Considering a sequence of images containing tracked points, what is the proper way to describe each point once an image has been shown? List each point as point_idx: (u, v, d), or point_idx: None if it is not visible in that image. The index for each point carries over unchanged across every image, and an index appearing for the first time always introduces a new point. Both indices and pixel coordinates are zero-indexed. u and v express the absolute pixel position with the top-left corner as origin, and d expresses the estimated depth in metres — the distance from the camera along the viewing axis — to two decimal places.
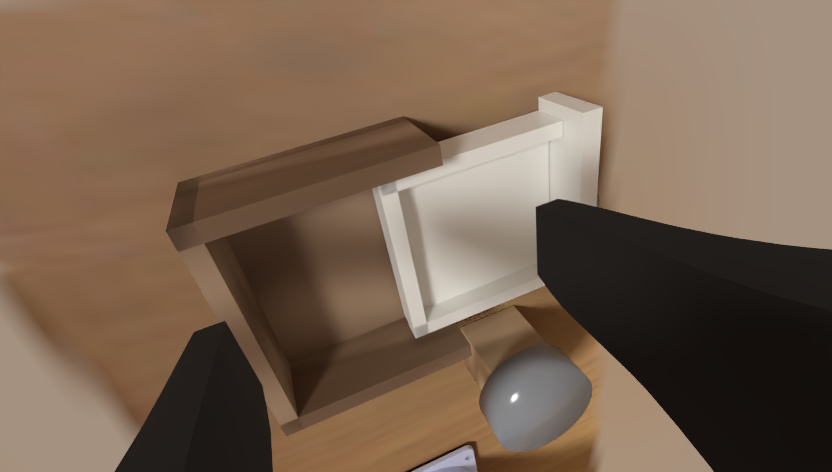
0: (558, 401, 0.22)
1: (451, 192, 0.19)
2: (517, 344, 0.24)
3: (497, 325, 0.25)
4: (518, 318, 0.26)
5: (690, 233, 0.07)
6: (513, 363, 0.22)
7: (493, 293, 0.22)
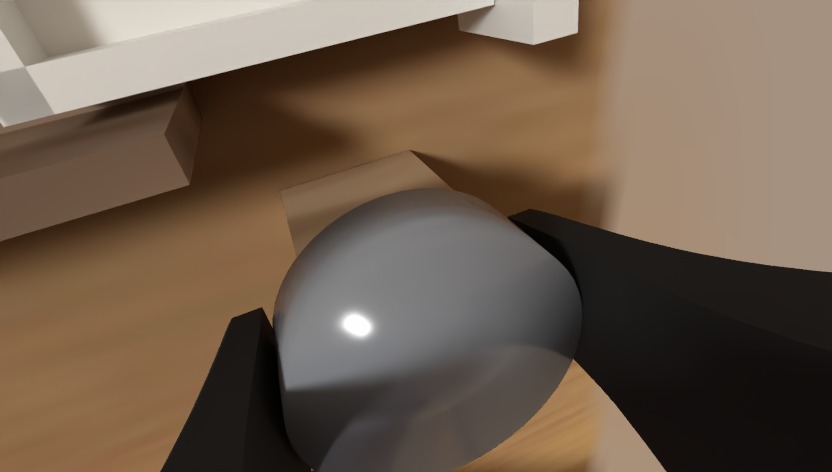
0: (481, 344, 0.08)
1: None
2: None
3: (361, 181, 0.11)
4: (412, 166, 0.11)
5: (655, 248, 0.07)
6: (346, 227, 0.07)
7: (278, 8, 0.07)
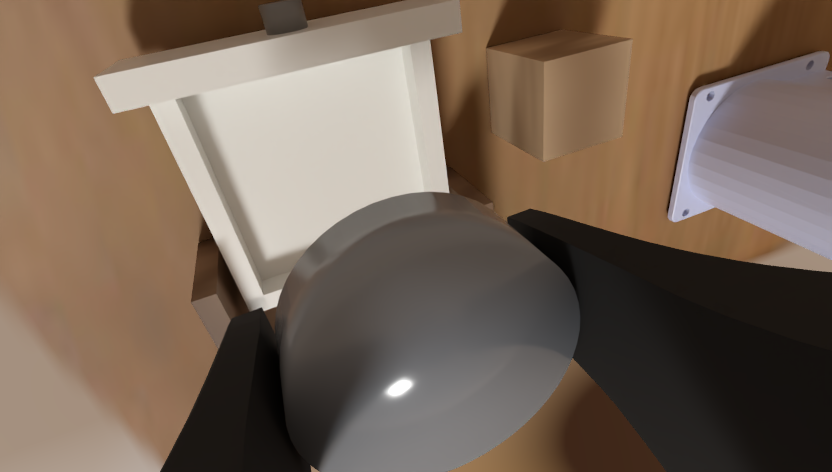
0: (477, 344, 0.08)
1: (276, 213, 0.16)
2: (524, 96, 0.16)
3: (500, 93, 0.18)
4: (500, 59, 0.17)
5: (655, 248, 0.07)
6: (338, 237, 0.07)
7: (424, 151, 0.16)
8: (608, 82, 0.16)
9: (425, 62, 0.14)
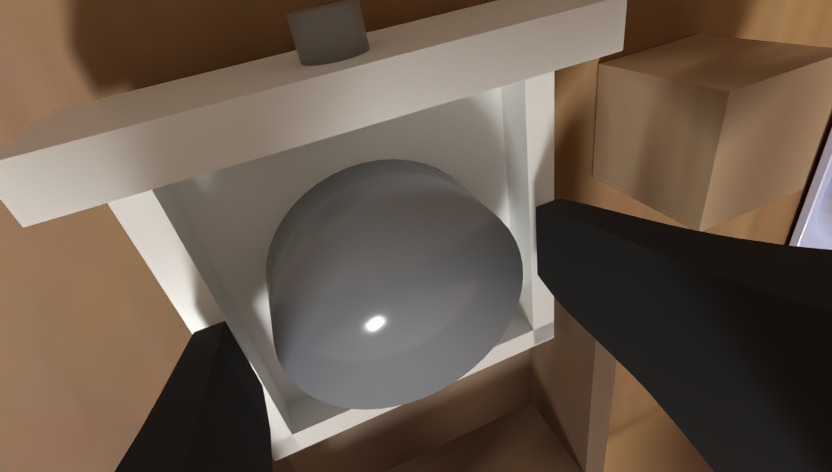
0: (433, 284, 0.09)
1: None
2: (671, 137, 0.11)
3: (618, 128, 0.13)
4: (625, 81, 0.12)
5: (690, 233, 0.07)
6: (317, 194, 0.09)
7: (526, 222, 0.11)
8: (805, 115, 0.10)
9: (543, 96, 0.09)
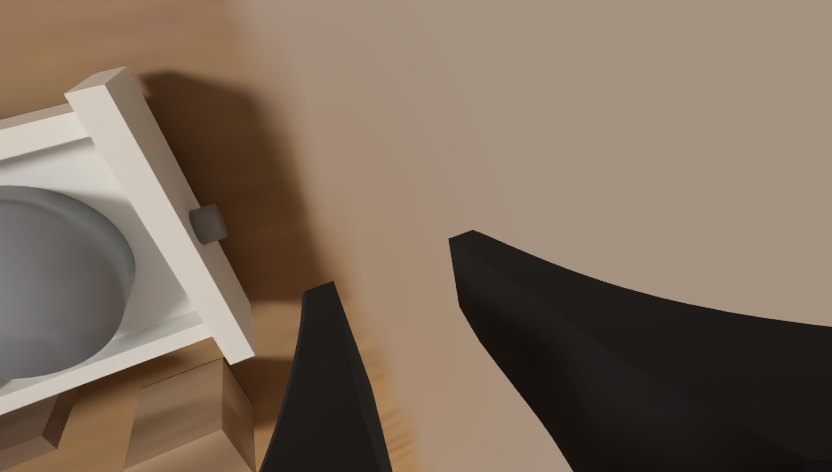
0: (42, 314, 0.13)
1: None
2: (186, 418, 0.18)
3: (184, 387, 0.19)
4: (215, 377, 0.19)
5: (580, 279, 0.07)
6: (100, 221, 0.14)
7: (102, 357, 0.15)
8: None
9: (197, 335, 0.16)
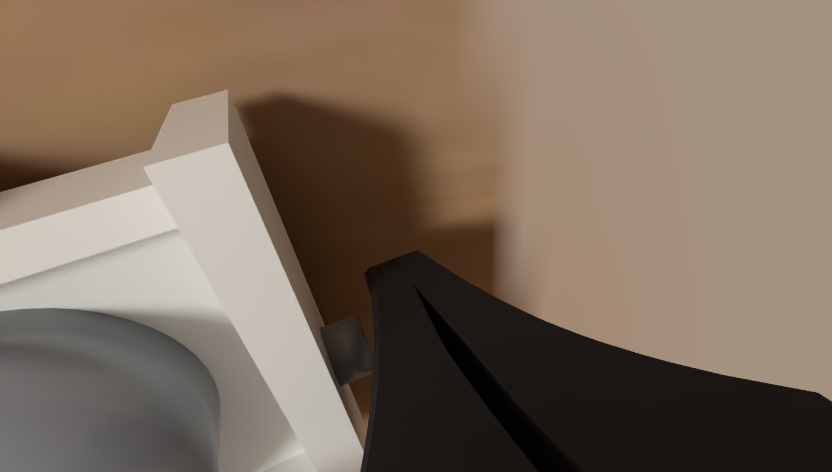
0: None
1: None
2: None
3: None
4: None
5: (506, 310, 0.07)
6: (177, 359, 0.08)
7: None
8: None
9: None
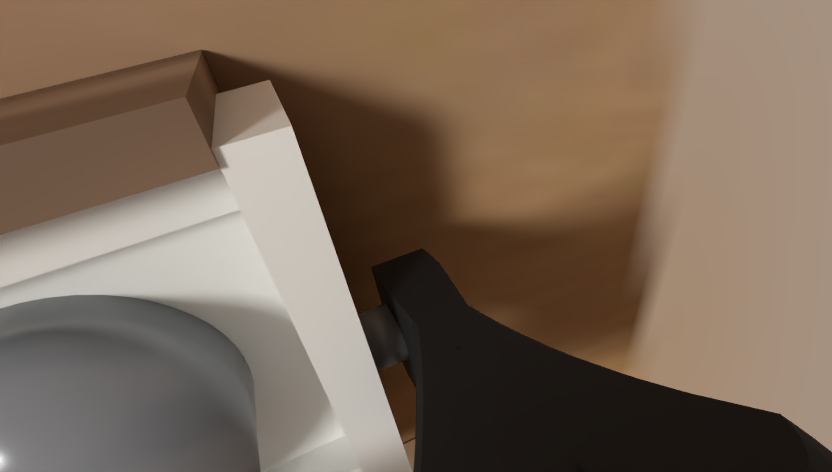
0: None
1: None
2: None
3: None
4: None
5: (479, 321, 0.07)
6: (219, 346, 0.08)
7: None
8: None
9: None
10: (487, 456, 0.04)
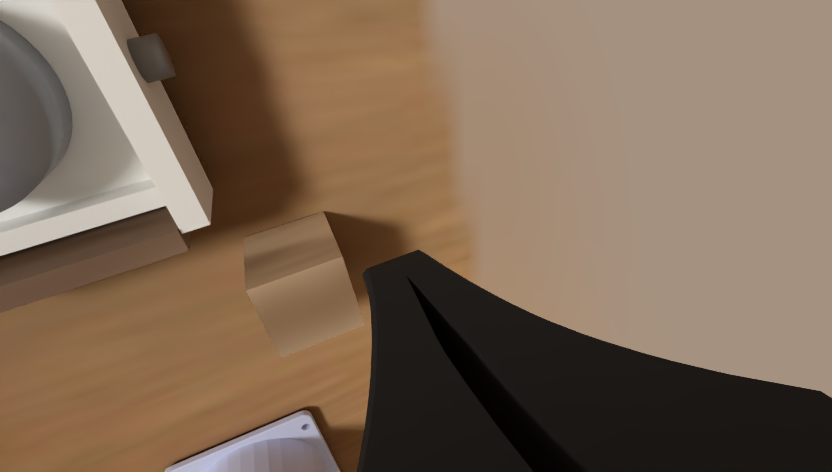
0: None
1: None
2: (301, 252, 0.17)
3: (289, 233, 0.18)
4: (320, 224, 0.19)
5: (508, 309, 0.07)
6: (29, 49, 0.12)
7: (35, 220, 0.13)
8: (329, 320, 0.18)
9: (146, 203, 0.14)
10: None
